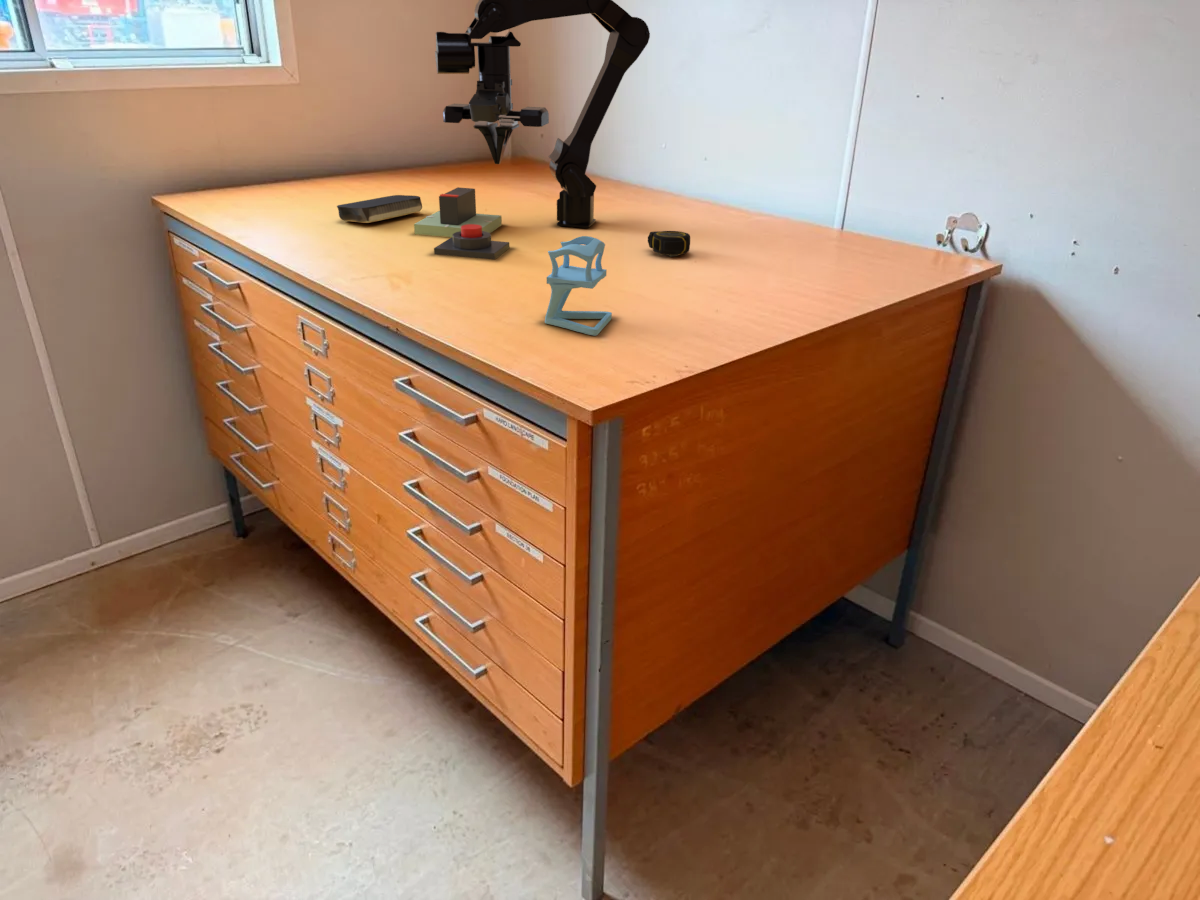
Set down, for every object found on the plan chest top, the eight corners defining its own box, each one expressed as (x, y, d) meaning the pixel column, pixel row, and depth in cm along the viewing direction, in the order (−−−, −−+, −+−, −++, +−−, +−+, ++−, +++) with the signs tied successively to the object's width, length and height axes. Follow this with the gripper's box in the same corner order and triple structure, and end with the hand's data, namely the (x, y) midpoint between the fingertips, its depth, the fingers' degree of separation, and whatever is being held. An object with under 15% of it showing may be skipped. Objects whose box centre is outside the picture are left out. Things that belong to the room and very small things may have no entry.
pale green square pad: (503, 225, 171) (503, 213, 170) (479, 241, 159) (479, 229, 158) (440, 219, 173) (439, 208, 172) (412, 235, 162) (411, 223, 161)
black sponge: (363, 228, 165) (361, 209, 164) (334, 221, 170) (332, 202, 168) (427, 214, 177) (425, 196, 175) (398, 208, 182) (397, 190, 180)
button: (485, 235, 153) (484, 225, 152) (478, 239, 150) (477, 229, 149) (465, 233, 153) (465, 223, 153) (458, 238, 150) (457, 228, 150)
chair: (557, 311, 125) (556, 227, 119) (612, 318, 123) (615, 233, 117) (538, 329, 118) (537, 241, 113) (596, 336, 116) (598, 247, 111)
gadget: (459, 213, 170) (457, 185, 167) (476, 214, 169) (475, 187, 167) (440, 223, 162) (438, 194, 160) (458, 225, 161) (456, 196, 159)
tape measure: (683, 248, 158) (685, 228, 156) (694, 258, 152) (695, 237, 150) (646, 249, 157) (647, 228, 155) (655, 259, 151) (657, 238, 149)
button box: (509, 248, 155) (509, 231, 154) (494, 260, 148) (494, 242, 147) (451, 243, 157) (450, 227, 156) (434, 254, 150) (433, 237, 149)
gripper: (428, 75, 152) (435, 168, 159) (532, 79, 148) (534, 174, 156) (451, 70, 161) (456, 158, 168) (549, 74, 158) (549, 163, 165)
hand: (497, 163), depth 164 cm, fingers closed
